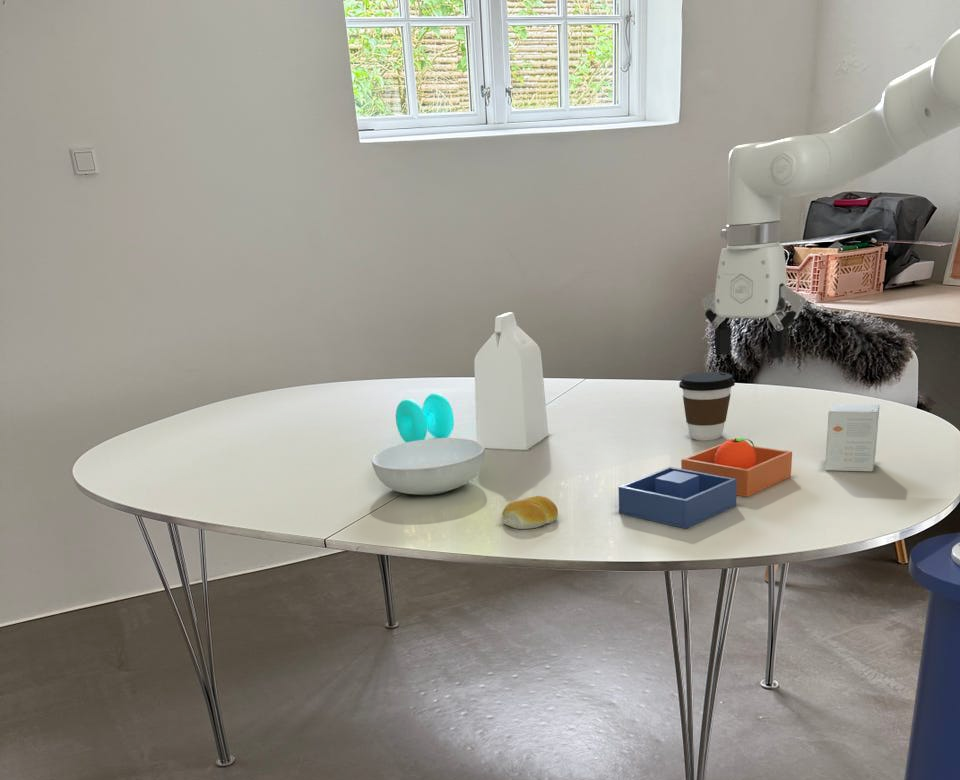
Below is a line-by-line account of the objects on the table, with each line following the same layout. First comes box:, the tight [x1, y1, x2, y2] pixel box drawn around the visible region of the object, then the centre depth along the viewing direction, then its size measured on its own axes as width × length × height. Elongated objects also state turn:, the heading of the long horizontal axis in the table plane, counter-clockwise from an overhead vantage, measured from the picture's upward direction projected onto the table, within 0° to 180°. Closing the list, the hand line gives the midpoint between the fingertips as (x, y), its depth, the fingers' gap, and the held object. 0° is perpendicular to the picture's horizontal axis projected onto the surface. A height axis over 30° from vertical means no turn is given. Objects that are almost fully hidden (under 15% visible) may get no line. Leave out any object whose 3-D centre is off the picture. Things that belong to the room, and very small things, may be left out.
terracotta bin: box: [680, 442, 793, 498], centre depth 165 cm, size 13×13×4 cm
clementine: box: [714, 437, 756, 469], centre depth 164 cm, size 8×7×7 cm
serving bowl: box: [371, 437, 486, 496], centre depth 176 cm, size 21×21×7 cm
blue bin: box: [618, 466, 737, 529], centre depth 154 cm, size 13×13×4 cm
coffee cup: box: [678, 371, 736, 441], centre depth 191 cm, size 11×11×12 cm
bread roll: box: [501, 495, 559, 530], centre depth 155 cm, size 8×9×4 cm
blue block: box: [655, 471, 699, 499], centre depth 153 cm, size 5×5×5 cm
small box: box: [824, 403, 880, 472], centre depth 165 cm, size 8×6×10 cm
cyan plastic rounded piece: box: [395, 392, 455, 443], centre depth 207 cm, size 10×10×10 cm
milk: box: [473, 312, 549, 451], centre depth 197 cm, size 12×12×26 cm
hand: (749, 355), depth 148 cm, fingers open, 9 cm apart
